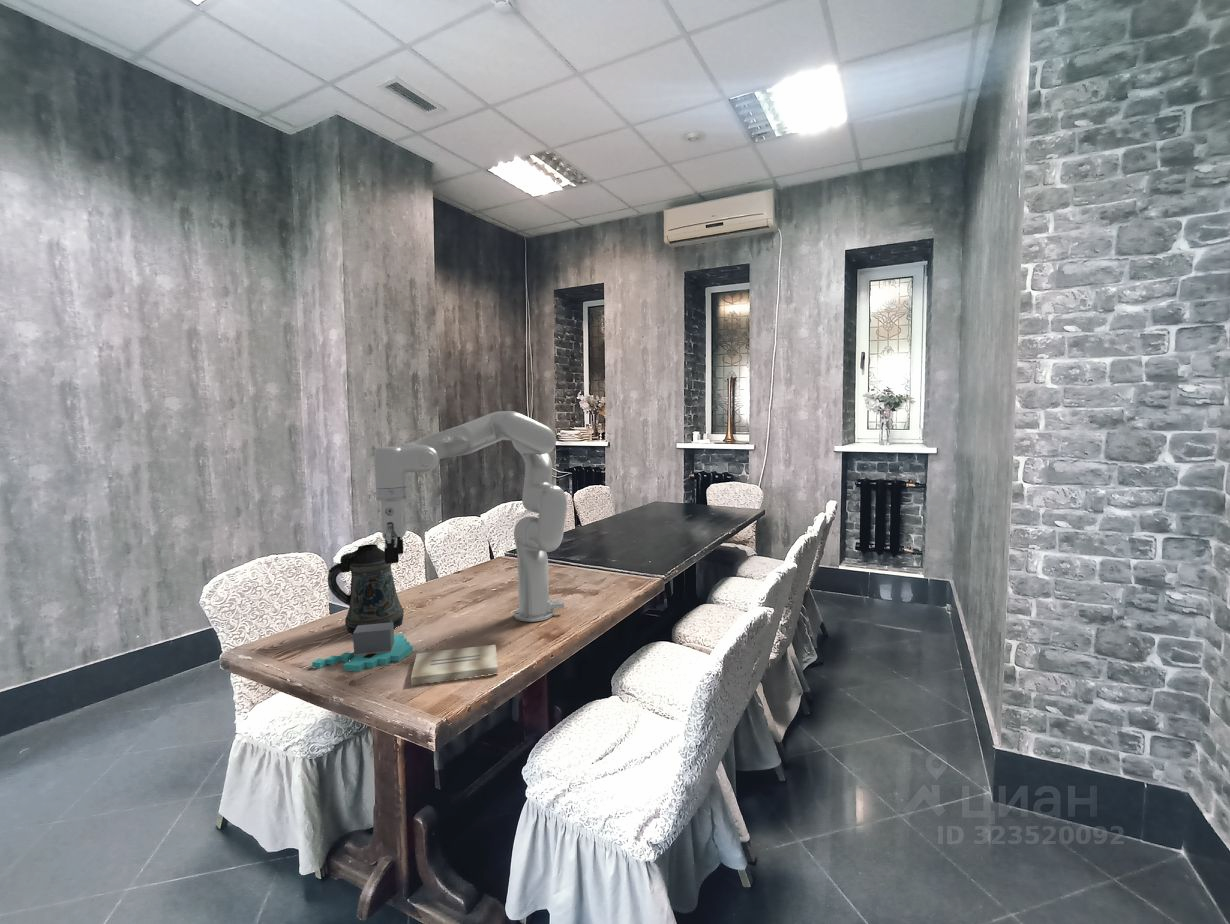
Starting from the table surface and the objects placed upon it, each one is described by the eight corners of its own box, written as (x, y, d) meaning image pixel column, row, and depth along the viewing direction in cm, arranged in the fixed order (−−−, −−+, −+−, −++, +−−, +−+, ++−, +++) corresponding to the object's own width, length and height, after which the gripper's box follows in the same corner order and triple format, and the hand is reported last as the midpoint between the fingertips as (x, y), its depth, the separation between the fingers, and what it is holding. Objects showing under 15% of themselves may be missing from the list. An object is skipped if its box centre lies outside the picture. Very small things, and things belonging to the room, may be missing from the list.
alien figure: (312, 670, 140) (384, 676, 136) (312, 662, 140) (383, 667, 136) (361, 639, 159) (425, 643, 156) (361, 632, 159) (425, 636, 156)
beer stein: (415, 622, 170) (411, 543, 168) (356, 644, 154) (351, 556, 152) (383, 612, 179) (379, 537, 178) (324, 632, 163) (319, 549, 161)
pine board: (495, 651, 148) (495, 644, 148) (497, 674, 134) (497, 666, 134) (417, 660, 143) (416, 653, 143) (411, 685, 129) (410, 677, 129)
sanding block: (394, 643, 151) (393, 622, 150) (391, 651, 145) (389, 629, 145) (358, 647, 149) (357, 625, 148) (354, 655, 143) (353, 633, 143)
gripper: (402, 497, 136) (405, 565, 137) (410, 489, 152) (413, 550, 154) (370, 499, 134) (373, 568, 135) (381, 490, 151) (384, 552, 152)
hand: (394, 558), depth 144 cm, fingers open, 9 cm apart
